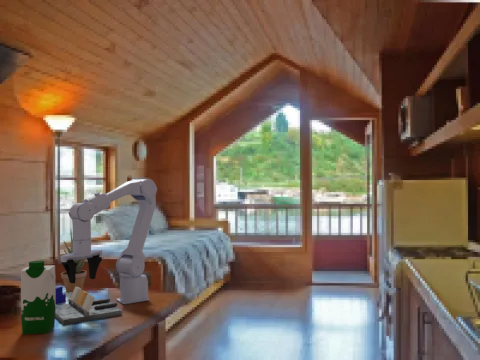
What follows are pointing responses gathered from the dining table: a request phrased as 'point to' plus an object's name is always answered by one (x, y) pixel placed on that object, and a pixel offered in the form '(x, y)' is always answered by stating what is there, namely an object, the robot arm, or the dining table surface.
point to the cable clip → (60, 295)
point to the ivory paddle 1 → (75, 294)
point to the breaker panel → (83, 312)
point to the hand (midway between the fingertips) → (82, 280)
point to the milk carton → (38, 298)
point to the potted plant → (79, 273)
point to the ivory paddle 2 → (88, 302)
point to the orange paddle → (81, 298)
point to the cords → (103, 305)
